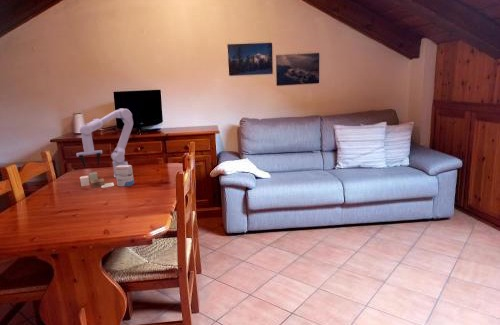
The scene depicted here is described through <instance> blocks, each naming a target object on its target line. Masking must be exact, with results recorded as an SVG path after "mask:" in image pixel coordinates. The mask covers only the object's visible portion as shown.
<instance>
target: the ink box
mask: <svg viewBox="0 0 500 325" xmlns="http://www.w3.org/2000/svg"><path fill="white" fill-rule="evenodd" d="M115 172H116V178H115V179H116V185H117V187H133V185H135V179H134V173H133V172H134V171H133V165H131V164H128V165H119V166H116V167H115Z"/></svg>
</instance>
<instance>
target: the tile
mask: <svg viewBox="0 0 500 325" xmlns="http://www.w3.org/2000/svg"><path fill="white" fill-rule="evenodd" d="M104 184H105V185H103V186H101V187H100V188H101V189H107V188H111V187H112V188H113V187H115V184H114V182H107V183H104Z"/></svg>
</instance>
